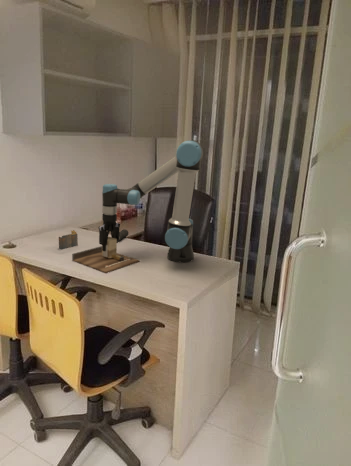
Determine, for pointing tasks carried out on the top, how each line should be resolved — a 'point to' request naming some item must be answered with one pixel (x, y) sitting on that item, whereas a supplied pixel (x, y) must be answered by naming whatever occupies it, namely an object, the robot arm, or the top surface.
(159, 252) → the top surface
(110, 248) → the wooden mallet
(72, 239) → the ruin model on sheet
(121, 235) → the flashlight
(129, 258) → the board
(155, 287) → the top surface
